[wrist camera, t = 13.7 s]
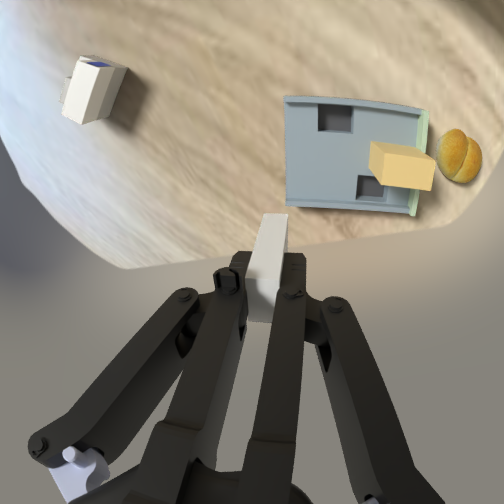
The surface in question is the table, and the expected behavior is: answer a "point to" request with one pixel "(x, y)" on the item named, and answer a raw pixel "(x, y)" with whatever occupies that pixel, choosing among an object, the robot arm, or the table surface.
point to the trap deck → (346, 152)
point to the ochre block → (401, 166)
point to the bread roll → (458, 156)
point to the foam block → (91, 89)
